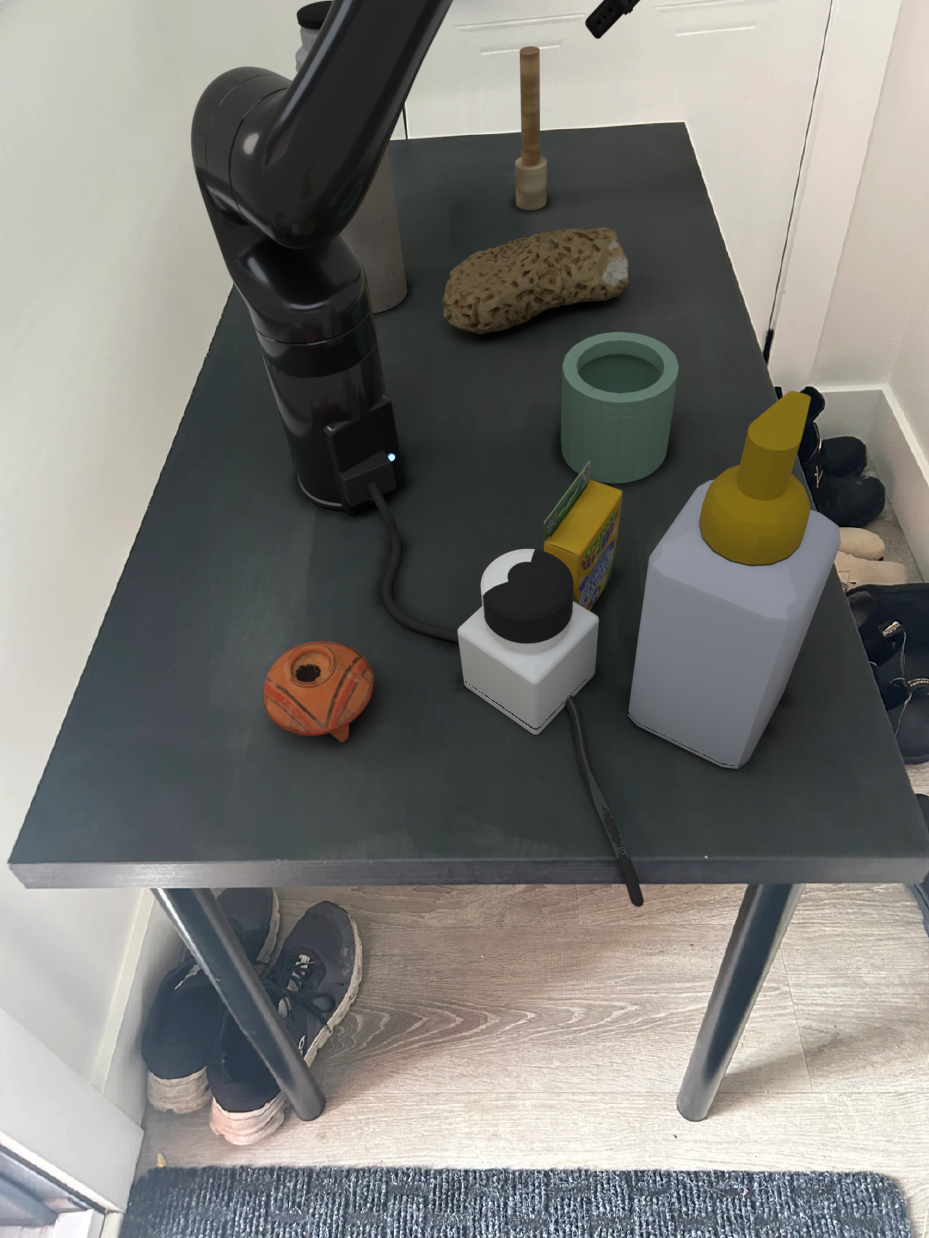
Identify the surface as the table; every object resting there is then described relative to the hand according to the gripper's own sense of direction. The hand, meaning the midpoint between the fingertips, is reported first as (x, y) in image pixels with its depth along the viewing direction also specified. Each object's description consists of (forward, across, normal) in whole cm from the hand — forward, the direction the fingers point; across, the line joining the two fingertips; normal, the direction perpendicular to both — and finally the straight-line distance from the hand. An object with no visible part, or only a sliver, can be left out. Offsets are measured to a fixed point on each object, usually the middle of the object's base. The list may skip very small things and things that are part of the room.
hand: (603, 15), depth 91 cm
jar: (+5, +41, +25) cm, 48 cm away
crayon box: (+3, +59, +26) cm, 65 cm away
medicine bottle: (+4, +68, +26) cm, 72 cm away
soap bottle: (-5, +65, +34) cm, 74 cm away
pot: (+14, +75, +16) cm, 78 cm away
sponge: (+15, +21, +14) cm, 30 cm away
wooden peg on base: (+20, 0, +9) cm, 22 cm away
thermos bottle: (+28, +24, +2) cm, 37 cm away
